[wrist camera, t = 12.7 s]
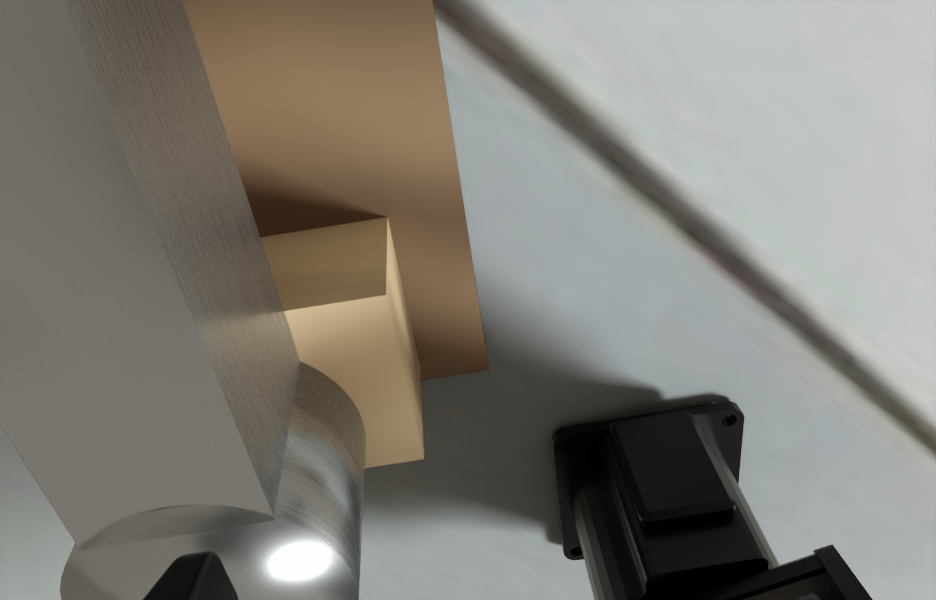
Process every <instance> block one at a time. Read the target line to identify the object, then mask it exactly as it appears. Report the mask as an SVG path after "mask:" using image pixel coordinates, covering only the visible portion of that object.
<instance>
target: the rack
mask: <svg viewBox="0 0 936 600" xmlns="http://www.w3.org/2000/svg"><path fill="white" fill-rule="evenodd" d="M183 2H184V5H185V8H186V11H187V14H188V18H189V21H190V24H191V27H192V30H193V33H194V36H195V39H196V42H197V45H198V48H199V51H200V54H201V57H202V60H203V64H204V67H205V70H206V73H207V76H208V79H209V82H210V85H211V88H212V91H213V94H214V97H215V100H216V103H217V106H218V110H219V113H220V116H221V119H222V122H223V125H224V128H225V131H226V134H227V137H228V140H229V143H230V146H231V149H232V152H233V156H234V159H235V162H236V165H237V168H238V171H239V174H240V177H241V180H242V183H243V186H244V189H245V192H246V195H247V198H248V202H249V205H250V208H251V211H252V214H253V217H254V220H255V223H256V226H257V229H258V232H259V235H260V238H261V241H262V244H263V247H264V251H265V254H266V257H267V260H268V263H269V266H270V269H271V272H272V275H273V278H274V281H275V284H276V287H277V290H278V293H279V297H280V300H281V303H282V306H283V309H284V312H285V315H286V318H287V321H288V324H289V327H290V330H291V333H292V336H293V339H294V343H295V346H296V349H297V352H298V355H299V358H300V361H301V362H303V363H305V364H307V365H310V366H312V367H313V368H315V369H317V370H319V371H320V372H322V373H324V374H325V375H327V376H328V377H329V378H331V379H332V380H333V381H335V382H336V383H337V384H338V385H339V386H340V387H341V388H342V389H343V390H344V391H345V392H346V393H347V394H348V396H349V397H350V398H351V399H352V401H353V402H354V404H355V405H356V407H357V409H358V411H359V412H360V415H361V418H362V420H363V423H364V428H365V433H366V454H365V468H371V467H377V466H384V465H390V464H396V463H403V462H409V461H415V460H422V459H424V440H423V418H422V396H421V380H427V379H433V378H440V377H446V376H452V375H458V374H465V373H471V372H477V371H484V370H489V367H488V360H487V354H486V347H485V341H484V334H483V328H482V321H481V315H480V308H479V302H478V295H477V289H476V282H475V276H474V269H473V263H472V256H471V250H470V243H469V237H468V230H467V224H466V217H465V211H464V204H463V198H462V191H461V185H460V178H459V172H458V165H457V159H456V152H455V146H454V139H453V132H452V126H451V119H450V113H449V106H448V100H447V93H446V87H445V80H444V74H443V67H442V61H441V54H440V48H439V41H438V35H437V28H436V22H435V15H434V9H433V2H432V0H183Z"/></svg>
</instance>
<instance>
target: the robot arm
mask: <svg viewBox="0 0 936 600" xmlns="http://www.w3.org/2000/svg"><path fill="white" fill-rule="evenodd" d="M728 415H730V416H729V417H727V418H725V417H726V416H728ZM743 424H744V415H743V413H742V411H741V410H740V408H739V406H738V405H737V404H736V403H733V402H721V403H715V404H709V405H702V406H696V407H690V408H683V409H677V410H671V411H664V412H658V413H652V414H645V415H639V416H633V417H626V418H620V419H614V420H607V421H601V422H595V423H588V424H582V425H576V426H569V427H564V428H561V429H558V430H557V431H556V432H554V434H553V435H552V439H551V442H552V452H553V462H554V472H555V482H556V491H557V501H558V511H559V521H560V531H561V540H562V547H563V552H564V555H565V557H567V558H568V559H571V560H580V559H584V560H585V564H586V568H587V572H588V576H589V580H590V584H591V587H592V591H593V595H594V599H595V600H872V598H871V597H870V596H869V594H868V593H867V591H866V590H865V589H864V587H863V586H862V585H861V583H860V582H859V580H858V579H857V578H856V576H855V575H854V574H853V572H852V571H851V569H850V568H849V567H848V565H847V564H846V563H845V561H844V560H843V559H842V557H841V556H840V554H839V553H838V552H837V550H836V549H835V548H834V546H833V545H829V546H826V547H823V548H820V549H817V550H814V551H813V552H814V554H812V555H809V556H806V557H803V558H800V559H797V560H794V561H791V562H788V563H785V564H782V565H779V563H778V561H777V559H776V557H775V555H774V554H773V552H772V550H771V548H770V546H769V544H768V542H767V540H766V538H765V536H764V534H763V532H762V530H761V528H760V526H759V524H758V523H757V521H756V519H755V517H754V515H753V513H752V511H751V509H750V507H749V505H748V503H747V501H746V499H745V497H744V495H743V493H742V492H741V490H740V488H739V486H738V480H739V469H740V458H741V447H742V436H743ZM565 441H571V442H569V443H563V442H565ZM142 600H239V599H238V595H237V592H236V590H235V588H234V586H233V584H232V582H231V580H230V578H229V576H228V574H227V572H226V570H225V568H224V566H223V564H222V562H221V560H220V558H219V556H218V555H217V554H216V553H215V552H213V551H204V552H198V553H191V554H185V555H182V556H179V557H178V558H177V559H175V560H174V561H173V562H172V563H171V565H170V566H169V567H168V568H167V570H166V571H165V572H164V573H163V575H162V576H161V577H160V578H159V580H158V581H157V582H156V583H155V584H154V586H153V587H152V588H151V589H150V591H149V592H148V593H147V594H146V596H145V597H144V598H143V599H142Z"/></svg>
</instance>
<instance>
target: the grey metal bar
mask: <svg viewBox="0 0 936 600" xmlns="http://www.w3.org/2000/svg"><path fill="white" fill-rule="evenodd" d="M0 426H1V427H2V429H3V430H4V432H5V434H6V435H7V437H8V438H9V440H10V441H11V443H12V444H13V446H14V448H15V449H16V451H17V452H18V454H19V455H20V457H21V458H22V460H23V462H24V463H25V465H26V466H27V468H28V469H29V471H30V472H31V474H32V476H33V477H34V479H35V480H36V482H37V483H38V485H39V486H40V488H41V490H42V491H43V493H44V494H45V496H46V497H47V499H48V500H49V502H50V503H51V505H52V507H53V508H54V510H55V511H56V513H57V514H58V516H59V517H60V519H61V521H62V522H63V524H64V525H65V527H66V528H67V530H68V531H69V533H70V535H71V536H72V538H73V539H74V541H75V542H76V543H75V545H74V547H73V550H72V552H71V554H70V556H69V559H68V561H67V563H66V565H65V568H64V571H63V574H62V578H61V588H60V592H61V599H62V600H142V599H143V598H144V597H145V596H146V594H147V593H148V592H149V591H150V589H151V588H152V587H153V586H154V584H155V583H156V582H157V581H158V580H159V578H160V577H161V576H162V575H163V573H164V572H165V571H166V570H167V568H168V567H169V566H170V565H171V563H172V562H173V561H174V560H175V559H177V558H178V557H179V556H182V555H185V554H191V553H198V552H204V551H213V552H215V553H216V554H217V555H218V556H219V558H220V560H221V562H222V564H223V566H224V568H225V570H226V572H227V574H228V576H229V578H230V580H231V582H232V584H233V586H234V588H235V590H236V592H237V595H238V599H239V600H359V580H360V559H361V538H362V517H363V496H364V475H365V454H366V433H365V428H364V423H363V420H362V418H361V415H360V412H359V411H358V409H357V407H356V405H355V404H354V402H353V401H352V399H351V398H350V397H349V396H348V394H347V393H346V392H345V391H344V390H343V389H342V388H341V387H340V386H339V385H338V384H337V383H336V382H335V381H333V380H332V379H331V378H329V377H328V376H327V375H325V374H324V373H322V372H320V371H319V370H317V369H315V368H313V367H312V366H310V365H307V364H305V363H303V362H301V361H300V358H299V355H298V352H297V349H296V346H295V343H294V339H293V336H292V333H291V330H290V327H289V324H288V321H287V318H286V315H285V312H284V309H283V306H282V303H281V300H280V297H279V293H278V290H277V287H276V284H275V281H274V278H273V275H272V272H271V269H270V266H269V263H268V260H267V257H266V254H265V251H264V247H263V244H262V241H261V238H260V235H259V232H258V229H257V226H256V223H255V220H254V217H253V214H252V211H251V208H250V205H249V202H248V198H247V195H246V192H245V189H244V186H243V183H242V180H241V177H240V174H239V171H238V168H237V165H236V162H235V159H234V156H233V152H232V149H231V146H230V143H229V140H228V137H227V134H226V131H225V128H224V125H223V122H222V119H221V116H220V113H219V110H218V106H217V103H216V100H215V97H214V94H213V91H212V88H211V85H210V82H209V79H208V76H207V73H206V70H205V67H204V64H203V60H202V57H201V54H200V51H199V48H198V45H197V42H196V39H195V36H194V33H193V30H192V27H191V24H190V21H189V18H188V14H187V11H186V8H185V5H184V2H183V0H0Z"/></svg>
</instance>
